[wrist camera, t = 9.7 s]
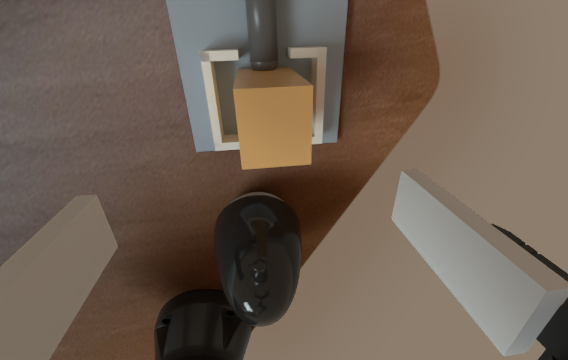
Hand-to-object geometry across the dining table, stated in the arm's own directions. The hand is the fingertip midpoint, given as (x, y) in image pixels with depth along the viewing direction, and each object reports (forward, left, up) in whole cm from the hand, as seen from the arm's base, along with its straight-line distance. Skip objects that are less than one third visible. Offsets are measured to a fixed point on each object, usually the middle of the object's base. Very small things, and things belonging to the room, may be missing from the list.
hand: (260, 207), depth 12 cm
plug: (+6, -1, -18) cm, 19 cm away
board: (+5, -1, -19) cm, 20 cm away
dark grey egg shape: (-14, +1, -19) cm, 24 cm away
